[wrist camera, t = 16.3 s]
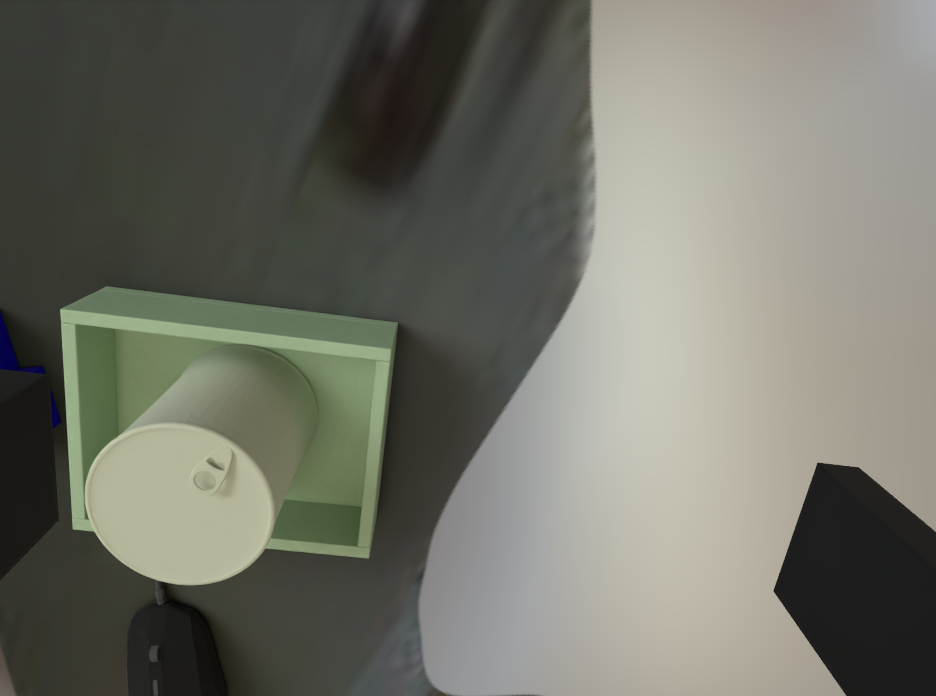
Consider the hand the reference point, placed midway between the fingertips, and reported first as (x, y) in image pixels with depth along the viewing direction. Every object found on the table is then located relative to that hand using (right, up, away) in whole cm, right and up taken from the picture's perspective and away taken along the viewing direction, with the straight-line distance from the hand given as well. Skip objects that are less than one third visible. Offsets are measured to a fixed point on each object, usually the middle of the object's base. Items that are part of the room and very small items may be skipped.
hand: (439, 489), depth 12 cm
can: (-14, -2, +32) cm, 35 cm away
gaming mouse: (-21, -20, +39) cm, 49 cm away
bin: (-14, -1, +32) cm, 35 cm away
